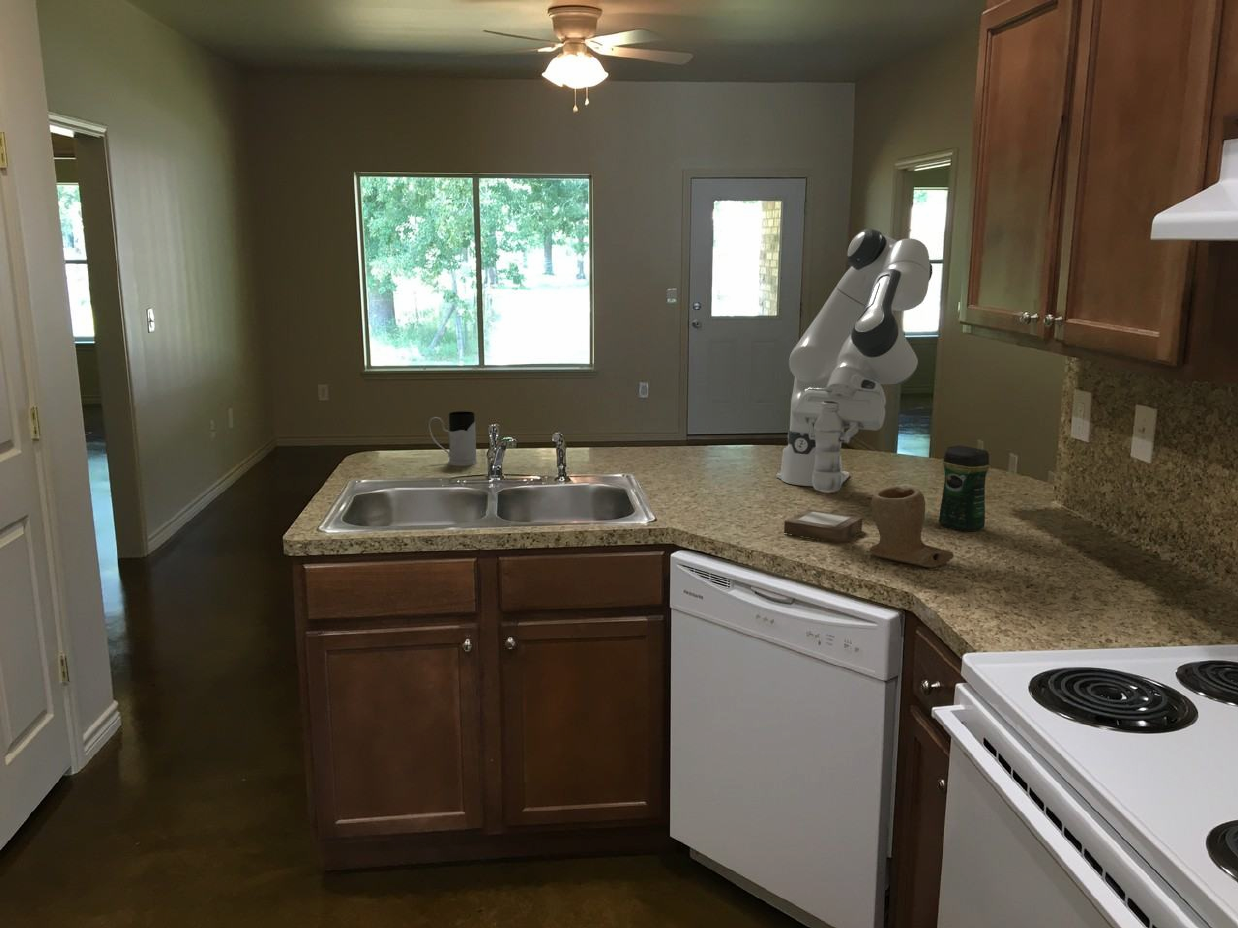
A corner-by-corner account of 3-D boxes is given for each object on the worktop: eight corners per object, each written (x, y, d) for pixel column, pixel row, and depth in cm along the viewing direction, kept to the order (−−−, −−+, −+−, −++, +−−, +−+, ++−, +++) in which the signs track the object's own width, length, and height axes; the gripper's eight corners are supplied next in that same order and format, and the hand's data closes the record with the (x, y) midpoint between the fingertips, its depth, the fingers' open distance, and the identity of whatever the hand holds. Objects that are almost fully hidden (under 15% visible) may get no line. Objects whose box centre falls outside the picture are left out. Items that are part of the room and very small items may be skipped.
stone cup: (855, 558, 198) (859, 486, 195) (889, 547, 206) (894, 478, 203) (920, 576, 187) (926, 500, 184) (954, 564, 194) (960, 491, 191)
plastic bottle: (824, 496, 211) (828, 404, 207) (805, 490, 217) (808, 401, 213) (848, 493, 214) (852, 402, 210) (828, 487, 220) (832, 399, 216)
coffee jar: (990, 529, 221) (997, 448, 217) (967, 534, 217) (974, 452, 213) (955, 519, 229) (961, 442, 225) (932, 524, 225) (938, 445, 221)
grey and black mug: (475, 465, 287) (474, 415, 284) (427, 465, 287) (425, 415, 284) (479, 460, 295) (478, 411, 292) (433, 459, 295) (431, 410, 292)
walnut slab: (807, 521, 226) (808, 508, 225) (861, 530, 219) (862, 516, 218) (784, 534, 216) (784, 520, 215) (839, 543, 208) (840, 529, 208)
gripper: (799, 378, 222) (780, 426, 216) (887, 384, 211) (869, 435, 205) (806, 396, 226) (788, 443, 220) (893, 402, 215) (875, 452, 209)
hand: (828, 439), depth 212 cm, fingers closed on plastic bottle, 6 cm apart
